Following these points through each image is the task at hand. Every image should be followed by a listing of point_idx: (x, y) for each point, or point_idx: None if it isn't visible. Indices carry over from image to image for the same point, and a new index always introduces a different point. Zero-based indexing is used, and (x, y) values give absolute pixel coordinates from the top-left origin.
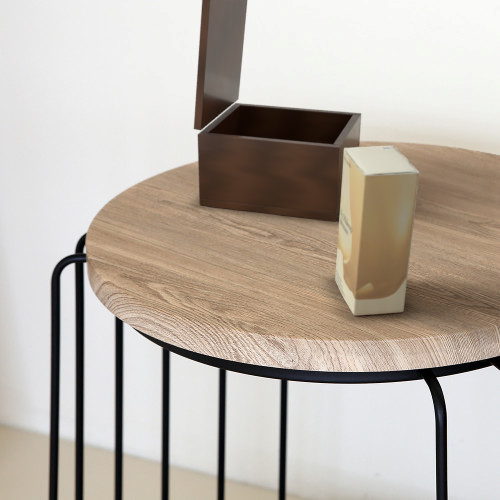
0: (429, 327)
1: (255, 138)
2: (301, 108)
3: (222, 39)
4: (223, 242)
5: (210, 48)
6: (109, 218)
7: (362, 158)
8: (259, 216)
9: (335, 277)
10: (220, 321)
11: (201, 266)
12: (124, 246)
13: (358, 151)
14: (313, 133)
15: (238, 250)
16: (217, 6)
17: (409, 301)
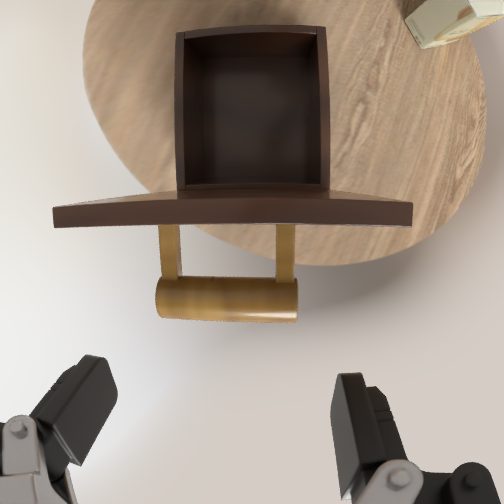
0: None
1: (325, 120)
2: (176, 102)
3: (268, 191)
4: (387, 139)
5: (335, 192)
6: (364, 253)
7: (489, 8)
8: None
9: (423, 48)
10: (482, 120)
11: (429, 147)
12: None
13: (479, 7)
14: (191, 89)
15: (397, 124)
16: (325, 194)
17: None
